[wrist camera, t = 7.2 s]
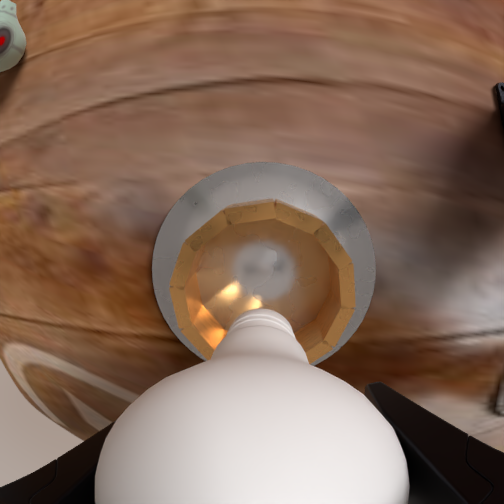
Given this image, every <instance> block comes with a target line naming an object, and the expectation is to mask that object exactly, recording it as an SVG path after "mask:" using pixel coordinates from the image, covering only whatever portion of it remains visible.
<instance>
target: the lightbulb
mask: <svg viewBox="0 0 504 504" xmlns="http://www.w3.org/2000/svg"><path fill="white" fill-rule="evenodd" d="M409 489H410V483H409V474H408V466H407V461H406V458H405V455H404V453H403V450H402V447H401V445H400V443H399V440H398V438H397V436H396V433H395V431H394V429H393V427H392V426H391V425H390V424H389V422H388V421H387V420H386V419H385V418H384V417H383V416H382V414H381V413H380V412H379V411H378V410H377V409H376V408H375V406H374V405H373V404H372V403H371V402H370V401H369V400H368V399H367V398H366V396H365V395H364V394H362V393H361V392H359V391H358V390H356V389H355V388H353V387H352V386H351V385H349V384H348V383H346V382H345V381H343V380H341V379H339V378H337V377H335V376H333V375H331V374H329V373H328V372H326V371H324V370H322V369H319V368H317V367H315V366H312V365H310V364H309V362H308V359H307V356H306V353H305V351H304V350H303V348H302V346H301V345H300V344H299V343H298V342H297V340H296V338H295V335H294V333H293V330H292V327H291V325H290V323H289V322H288V321H287V319H286V318H285V317H284V316H282V315H281V314H279V313H277V312H275V311H273V310H269V309H263V308H259V309H252V310H248V311H246V312H244V313H242V314H241V315H239V316H238V317H237V318H236V319H235V320H234V321H233V323H232V324H231V326H230V329H229V330H228V332H227V335H226V337H225V338H224V339H223V340H222V341H221V342H220V343H219V344H218V345H217V347H216V349H215V350H214V352H213V355H212V357H211V359H210V360H208V361H205V362H203V363H200V364H198V365H195V366H192V367H190V368H188V369H185V370H183V371H180V372H178V373H175V374H173V375H170V376H168V377H166V378H164V379H163V380H161V381H160V382H158V383H156V384H155V385H153V386H152V387H150V388H149V389H147V390H146V391H145V392H144V393H143V394H142V395H141V396H139V397H138V398H137V399H136V400H135V401H134V402H133V403H132V404H130V405H129V406H128V408H127V409H126V410H125V411H124V412H123V413H122V414H121V416H120V417H119V418H118V419H117V420H116V422H115V423H114V425H113V427H112V429H111V430H110V432H109V434H108V435H107V437H106V439H105V442H104V445H103V448H102V450H101V453H100V457H99V461H98V465H97V470H96V474H95V504H408V498H409Z"/></svg>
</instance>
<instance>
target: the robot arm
mask: <svg viewBox="0 0 504 504" xmlns="http://www.w3.org/2000/svg"><path fill="white" fill-rule="evenodd" d="M495 87H496V92H497V96H498V101H499V106H500V111H501V116H502V121H503V127H504V83H497V84H496V86H495ZM501 89H502V90H501ZM365 396H366V398H367V399H368V400H369V401H370V402H371V403H372V404H373V405H374V406H375V408H376V409H377V410H378V411H379V412H380V413H381V414H382V416H383V417H384V418H385V419H386V420H387V421H388V422H389V424H390V425H391V426H392V427H393V429H394V431H395V433H396V436H397V438H398V440H399V443H400V445H401V447H402V450H403V453H404V455H405V458H406V461H407V466H408V474H409V483H410V489H409V498H408V504H504V452H501V451H499V450H497V449H495V448H493V447H491V446H489V445H487V444H485V443H483V442H481V441H479V440H477V439H476V438H474V437H472V436H469V437H468V434H467V433H465V432H463V431H462V430H460V429H458V428H456V427H455V426H453V425H451V424H450V423H448V422H446V421H444V420H443V419H441V418H439V417H438V416H436V415H434V414H433V413H431V412H429V411H428V410H426V409H424V408H423V407H421V406H419V405H418V404H416V403H414V402H413V401H411V400H409V399H408V398H406V397H405V396H403V395H401V394H400V393H398V392H396V391H395V390H393V389H392V388H390V387H388V386H387V385H385V384H384V383H382V382H375V383H370V384H367V385H366V387H365ZM115 422H116V421H114V422H113V423H111V424H110V425H108V426H107V427H105V428H104V429H102V430H101V431H99V432H98V433H96V434H95V435H93V436H92V437H90V438H89V439H87V440H86V441H84V442H82V443H81V444H80V445H78V446H76V447H75V448H73V449H71V450H70V451H68V452H67V453H65V454H63V455H62V456H60V457H58V459H57V460H53V461H52V462H50V463H49V464H47V465H45V466H43V467H42V468H40V469H38V470H36V471H35V472H33V473H31V474H29V475H27V476H25V477H22V478H20V479H18V480H16V481H14V482H12V483H9V484H7V485H5V486H2V487H0V504H95V474H96V470H97V465H98V461H99V457H100V453H101V450H102V448H103V445H104V442H105V439H106V437H107V435H108V434H109V432H110V430H111V429H112V427H113V425H114V423H115Z"/></svg>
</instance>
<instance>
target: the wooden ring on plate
mask: <svg viewBox="0 0 504 504" xmlns="http://www.w3.org/2000/svg"><path fill="white" fill-rule="evenodd" d="M375 275H376V263H375V254H374V248H373V245H372V241H371V237H370V234H369V232H368V230H367V227H366V225H365V223H364V221H363V219H362V217H361V216H360V214H359V212H358V211H357V209H356V208H355V207H354V206H353V204H352V203H351V202H350V201H349V199H348V198H347V197H346V196H345V195H344V194H343V193H342V192H340V191H339V190H338V189H337V188H336V187H335V186H333V185H332V184H330V183H329V182H328V181H326V180H325V179H323V178H321V177H319V176H318V175H316V174H314V173H312V172H310V171H307V170H304V169H301V168H298V167H295V166H291V165H286V164H281V163H271V162H256V163H246V164H241V165H237V166H232V167H229V168H226V169H223V170H221V171H218V172H216V173H214V174H212V175H210V176H208V177H206V178H204V179H203V180H201V181H200V182H198V183H197V184H196V185H194V186H193V187H192V188H190V189H189V190H188V191H187V192H186V193H185V194H184V195H183V196H182V197H181V198H180V199H179V200H178V201H177V202H176V204H175V205H174V206H173V208H172V209H171V210H170V212H169V213H168V215H167V217H166V219H165V220H164V222H163V224H162V226H161V229H160V231H159V234H158V236H157V239H156V243H155V247H154V252H153V261H152V279H153V286H154V291H155V296H156V299H157V302H158V305H159V308H160V310H161V312H162V314H163V316H164V319H165V320H166V322H167V324H168V325H169V327H170V328H171V330H172V331H173V332H174V334H175V335H176V336H177V337H178V339H179V340H180V341H181V342H182V343H183V344H184V345H185V346H186V347H187V348H188V349H189V350H191V351H192V352H193V353H195V354H196V355H197V356H199V357H200V358H202V359H203V360H205V361H208V360H210V359H211V357H212V355H213V352H214V350H215V349H216V347H217V345H218V344H219V343H220V342H221V341H222V340H223V339H224V338H225V337H226V335H227V332H228V330H229V329H230V326H231V324H232V323H233V321H234V320H235V319H236V318H237V317H238V316H239V315H241V314H242V313H244V312H246V311H248V310H252V309H259V308H263V309H269V310H273V311H275V312H277V313H279V314H281V315H282V316H284V317H285V318H286V319H287V321H288V322H289V323H290V325H291V327H292V330H293V333H294V335H295V338H296V340H297V342H298V343H299V344H300V345H301V346H302V348H303V350H304V351H305V353H306V356H307V359H308V362H309V364H310V365H312V366H314V365H316V364H318V363H320V362H321V361H323V360H325V359H327V358H328V357H329V356H331V355H332V354H333V353H335V352H336V351H337V350H339V349H340V348H341V347H342V346H343V345H344V344H345V343H346V342H347V341H348V340H349V339H350V337H351V336H352V335H353V334H354V332H355V331H356V330H357V328H358V327H359V325H360V323H361V322H362V320H363V319H364V316H365V314H366V312H367V310H368V308H369V305H370V302H371V298H372V295H373V291H374V285H375Z"/></svg>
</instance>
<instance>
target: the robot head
mask: <svg viewBox="0 0 504 504" xmlns="http://www.w3.org/2000/svg"><path fill="white" fill-rule="evenodd" d="M25 47H26V38H25V34H24V32H23V31H22V28H21V26H20V24H19V22H18V20H17V16H16V4H15V3H13V2H11V1H9V0H2V1H1V2H0V72H2V71H5V70H8V69H10V68H12V67H13V66H15V65H16V64H17V63H18V62H19V60H20V59H21V57H22V56H23V55H24V51H25Z"/></svg>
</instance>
